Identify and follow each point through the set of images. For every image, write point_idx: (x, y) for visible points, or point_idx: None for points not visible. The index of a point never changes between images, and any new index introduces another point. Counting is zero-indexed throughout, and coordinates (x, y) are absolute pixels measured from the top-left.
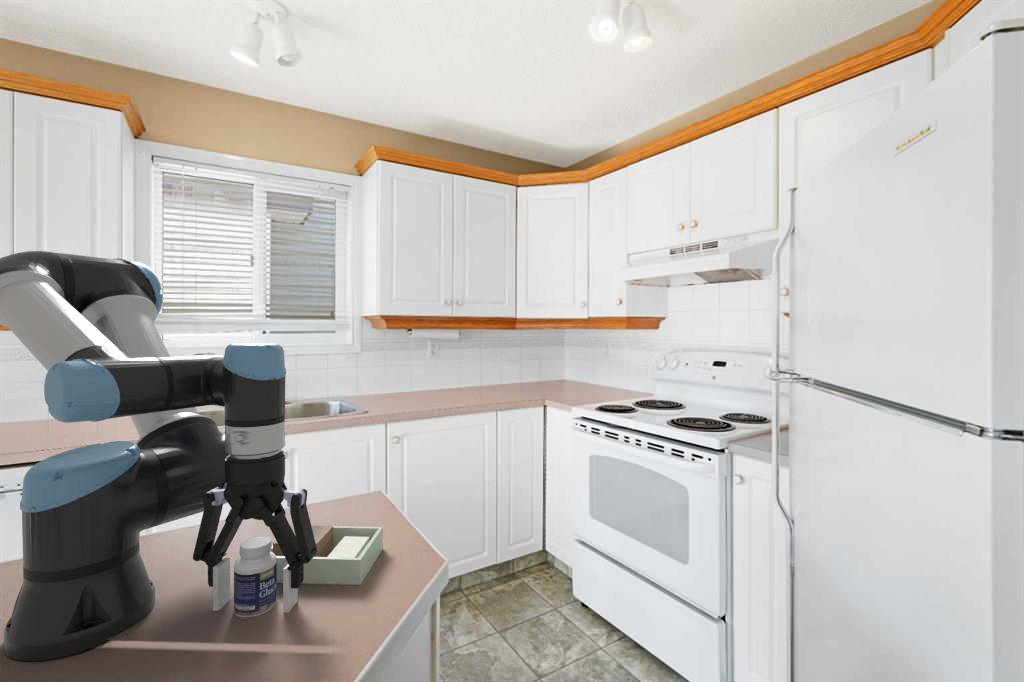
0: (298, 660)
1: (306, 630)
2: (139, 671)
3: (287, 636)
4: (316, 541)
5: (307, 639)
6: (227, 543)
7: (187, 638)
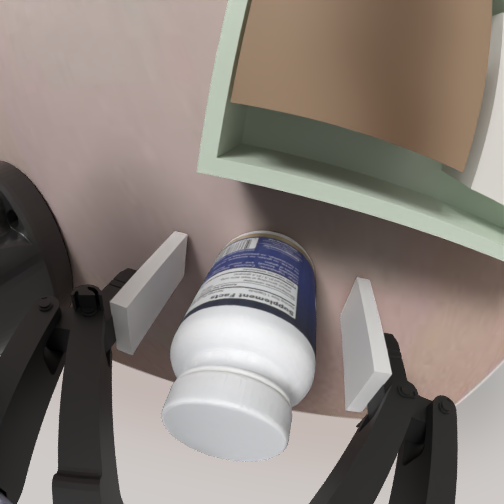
0: None
1: None
2: (155, 374)
3: None
4: (462, 136)
5: None
6: (106, 390)
7: (171, 331)
